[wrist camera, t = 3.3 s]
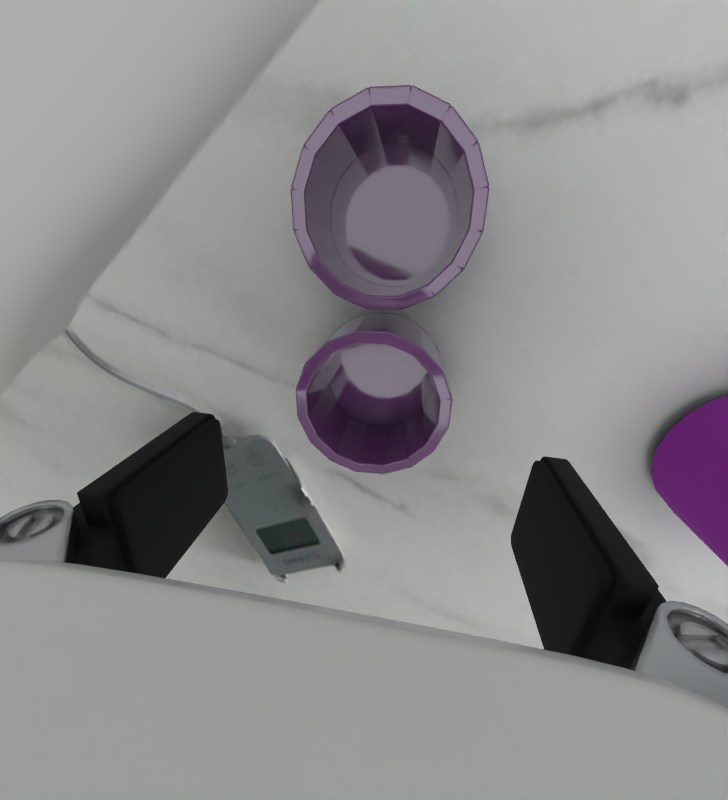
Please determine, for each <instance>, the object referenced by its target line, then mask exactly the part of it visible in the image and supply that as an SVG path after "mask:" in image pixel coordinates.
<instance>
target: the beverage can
mask: <svg viewBox="0 0 728 800" xmlns="http://www.w3.org/2000/svg"><path fill="white" fill-rule="evenodd" d="M651 473H652V478H653V482H654V486H655V489H656V490H657V492H658V493H659V494H660V496H661V497H662V498H663V499H664V501H665V502H666V503H667V504H668V506H669V507H670V508H671V509H672V511H673V512H674V513H675V514H676V515H677V516H678V517H679V518H680V519H681V520H682V521H683V522H684V523H685V524H686V525H687V526H688V527H689V528H690V529H691V530H692V531H693V532H694V533H695V534H696V535H697V536H698V537H699V538H700V539H701V540H702V541H703V542H704V543H705V544H706V545H707V546H708V547H709V548H710V549H711V550H712V551H713V552H714V553H715V554H716V555H717V556H718V557H719V558H720V559H721V560H722V561H723V562H724V563H725V564H726V565H727V566H728V395H727V396H724V397H720V398H717V399H714V400H712V401H710V402H708V403H706V404H705V405H703V406H701V407H699V408H697V409H696V410H694V411H692V412H690V413H688V414H687V415H686V416H685V417H684V418H683V419H681V420H680V421H679V422H678V423H677V424H676V425H675V426H674V427H673V428H672V429H670V430H669V431H668V432H667V434H666V435H665V437H664V439H663V440H662V442H661V443H660V445H659V447H658V448H657V450H656V451H655V455H654V460H653V464H652V469H651Z"/></svg>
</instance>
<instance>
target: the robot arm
mask: <svg viewBox="0 0 728 800" xmlns="http://www.w3.org/2000/svg"><path fill="white" fill-rule="evenodd" d="M77 494H78V497H79V500H80V503H79V504H77V505H76V506H75V507H73V506H72V505H71V504H70V503H68V502H66V501H62V500H47V501H41V502H36V503H33V504H29V505H26V506H23V507H21V508H19V509H16V510H14V511H11V512H9V513H8V514H6V515H4V516H3V517H1V518H0V800H728V624H727V623H726V622H724V621H722V620H721V619H719V618H718V617H716V616H715V615H713V614H711V613H709V612H707V611H705V610H703V609H701V608H699V607H696V606H693V605H690V604H687V603H684V602H676V601H668V602H667V601H666V600H665V599H664V597H663V596H662V594H661V593H660V592H659V590H658V587H659V586H658V584H657V583H656V582H655V580H654V579H653V577H652V576H651V575H650V573H649V572H648V571H647V569H646V568H645V566H644V565H643V564H642V562H641V561H640V559H639V558H638V557H637V555H636V554H635V553H634V551H633V550H632V548H631V547H630V546H629V544H628V543H627V541H626V540H625V539H624V537H623V536H622V535H621V533H620V532H619V530H618V529H617V528H616V526H615V525H614V524H613V522H612V521H611V519H610V518H609V517H608V515H607V514H606V512H605V511H604V510H603V508H602V507H601V506H600V504H599V503H598V501H597V500H596V499H595V497H594V496H593V494H592V493H591V492H590V490H589V489H588V488H587V486H586V485H585V483H584V482H583V481H582V479H581V478H580V476H579V475H578V474H577V472H576V471H575V470H574V468H573V467H572V465H571V464H570V463H569V461H568V460H566V459H560V458H552V457H542V459H541V460H540V461H535V462H534V463H533V466H532V469H531V472H530V475H529V479H528V482H527V485H526V488H525V492H524V495H523V498H522V501H521V505H520V508H519V511H518V514H517V518H516V521H515V524H514V527H513V531H512V534H511V545H512V549H513V552H514V555H515V559H516V562H517V565H518V568H519V571H520V574H521V577H522V581H523V584H524V587H525V590H526V593H527V596H528V599H529V603H530V606H531V609H532V612H533V615H534V618H535V621H536V625H537V628H538V631H539V634H540V637H541V640H542V643H543V647H544V649H539V648H534V647H529V646H524V645H519V644H515V643H510V642H505V641H500V640H495V639H490V638H485V637H479V636H474V635H469V634H464V633H458V632H453V631H448V630H443V629H437V628H432V627H427V626H422V625H416V624H411V623H406V622H401V621H395V620H390V619H385V618H380V617H374V616H369V615H363V614H358V613H353V612H347V611H342V610H336V609H331V608H326V607H320V606H315V605H310V604H304V603H299V602H293V601H288V600H282V599H277V598H271V597H266V596H260V595H255V594H250V593H244V592H238V591H233V590H227V589H222V588H216V587H210V586H205V585H199V584H194V583H188V582H182V581H177V580H171V579H165V578H166V577H167V575H168V574H169V573H170V571H171V570H172V569H173V568H174V566H175V565H176V564H177V562H178V561H179V560H180V559H181V557H182V556H183V555H184V553H185V552H186V551H187V550H188V548H189V547H190V546H191V545H192V543H193V542H194V541H195V539H196V538H197V537H198V536H199V534H200V533H201V532H202V530H203V529H204V528H205V527H206V525H207V524H208V523H209V521H210V520H211V519H212V518H213V516H214V515H215V514H216V513H217V511H218V510H219V509H220V507H221V506H222V505H223V504H224V502H225V500H226V498H227V495H228V487H227V478H226V470H225V461H224V452H223V444H222V435H221V427H220V422H219V421H218V420H216V419H215V417H214V415H212V414H206V413H198V412H193V413H190V414H189V415H188V416H186V417H185V418H183V419H182V420H180V421H179V422H178V423H176V424H175V425H173V426H172V427H170V428H169V429H168V430H166V431H165V432H163V433H162V434H160V435H159V436H158V437H156V438H155V439H153V440H152V441H150V442H149V443H148V444H146V445H145V446H143V447H142V448H140V449H139V450H138V451H136V452H135V453H133V454H132V455H130V456H129V457H128V458H126V459H125V460H123V461H122V462H120V463H119V464H118V465H116V466H115V467H113V468H112V469H110V470H109V471H108V472H106V473H105V474H103V475H102V476H100V477H99V478H98V479H96V480H95V481H93V482H92V483H90V484H89V485H88V486H86V487H85V488H83V489H82V490H80V491H79V492H78V493H77Z"/></svg>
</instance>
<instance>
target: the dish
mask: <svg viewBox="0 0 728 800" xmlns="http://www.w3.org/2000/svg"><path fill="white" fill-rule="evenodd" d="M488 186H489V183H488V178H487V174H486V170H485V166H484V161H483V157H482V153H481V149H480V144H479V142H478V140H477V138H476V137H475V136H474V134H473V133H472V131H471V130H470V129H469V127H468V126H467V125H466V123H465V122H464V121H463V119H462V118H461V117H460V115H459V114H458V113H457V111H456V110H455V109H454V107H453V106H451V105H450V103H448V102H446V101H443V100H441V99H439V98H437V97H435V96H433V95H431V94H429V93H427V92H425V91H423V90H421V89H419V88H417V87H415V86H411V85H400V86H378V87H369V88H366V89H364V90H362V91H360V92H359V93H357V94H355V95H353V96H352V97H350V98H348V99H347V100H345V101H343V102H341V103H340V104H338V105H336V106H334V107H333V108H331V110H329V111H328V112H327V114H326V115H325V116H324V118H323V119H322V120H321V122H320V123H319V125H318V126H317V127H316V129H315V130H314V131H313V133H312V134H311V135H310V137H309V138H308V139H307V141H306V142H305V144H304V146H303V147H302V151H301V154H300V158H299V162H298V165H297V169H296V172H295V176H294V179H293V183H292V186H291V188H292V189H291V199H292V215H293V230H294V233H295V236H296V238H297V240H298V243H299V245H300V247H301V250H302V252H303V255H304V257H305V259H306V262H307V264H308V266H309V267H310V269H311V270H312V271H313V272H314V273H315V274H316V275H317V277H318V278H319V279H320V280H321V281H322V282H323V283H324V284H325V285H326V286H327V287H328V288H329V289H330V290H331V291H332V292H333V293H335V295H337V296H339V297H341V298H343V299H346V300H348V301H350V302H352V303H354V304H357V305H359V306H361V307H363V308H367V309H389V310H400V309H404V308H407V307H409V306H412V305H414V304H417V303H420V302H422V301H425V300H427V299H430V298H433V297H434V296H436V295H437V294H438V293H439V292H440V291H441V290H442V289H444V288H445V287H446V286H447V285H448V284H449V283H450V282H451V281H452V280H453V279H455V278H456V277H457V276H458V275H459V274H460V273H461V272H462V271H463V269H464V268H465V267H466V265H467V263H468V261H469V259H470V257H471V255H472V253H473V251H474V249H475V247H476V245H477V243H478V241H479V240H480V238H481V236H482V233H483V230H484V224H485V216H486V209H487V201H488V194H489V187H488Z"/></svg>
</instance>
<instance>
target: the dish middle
mask: <svg viewBox="0 0 728 800" xmlns="http://www.w3.org/2000/svg"><path fill="white" fill-rule="evenodd" d="M296 402H297V415H298V419H299V421H300V423H301V425H302V427H303V429H304V431H305V433H306V435H307V437H308V439H309V440H310V442H311V443H312V444H313V445H314V446H315V447H316V448H317V449H318V450H320V451H321V452H322V453H323V454H324V455H325V456H326V457H327V458H328V459H329V460H331V461H333V462H335V463H337V464H340V465H342V466H344V467H346V468H349V469H351V470H353V471H357V472H366V473H378V474H386V473H390V472H394V471H398V470H402V469H406V468H410V467H412V466H414V465H415V464H417V463H418V462H419V461H421V460H422V459H424V458H425V457H426V456H428V455H429V454H431V453H432V452H433V451H434V450H435V449H436V447H437V445H438V444H439V442H440V441H441V439H442V437H443V436H444V434H445V432H446V431H447V429H448V427H449V422H450V414H451V405H452V396H451V392H450V388H449V385H448V381H447V377H446V374H445V370H444V366H443V363H442V360H441V357H440V354H439V351H438V348H437V346H436V344H435V343H434V342H433V340H432V339H431V337H430V336H429V335H428V334H427V333H426V332H425V331H424V330H423V329H422V328H421V327H420V326H418V325H417V324H416V323H414V322H412V321H411V320H409V319H407V318H404V317H401V316H399V315H394V314H389V313H372V314H366V315H362V316H359V317H357V318H354V319H352V320H350V321H349V322H346V323H345V324H343V325H342V326H341V327H340V328H339V329H338V330H337V331H336V332H335V333H334V334H333V335H332V336H331V337H330V338H329V339H328V340H327V341H326V342H325V343H324V344H323V345H322V346H321V347H320V348H319V349H318V350H317V351H316V352H315V353H314V354H313V355H312V356H311V357H310V358H309V359H308V360H307V362H306V363H305V365H304V368H303V370H302V373H301V376H300V379H299V381H298V384H297V387H296Z"/></svg>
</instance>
